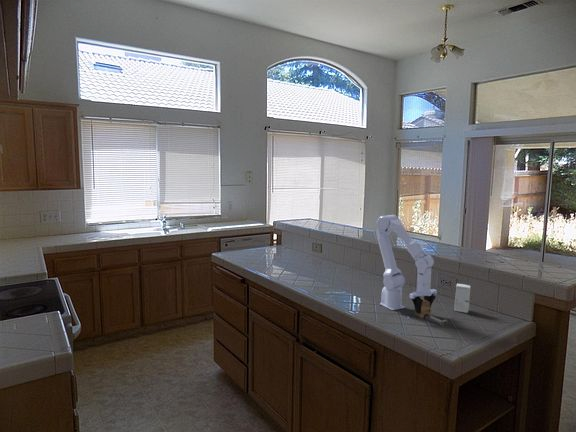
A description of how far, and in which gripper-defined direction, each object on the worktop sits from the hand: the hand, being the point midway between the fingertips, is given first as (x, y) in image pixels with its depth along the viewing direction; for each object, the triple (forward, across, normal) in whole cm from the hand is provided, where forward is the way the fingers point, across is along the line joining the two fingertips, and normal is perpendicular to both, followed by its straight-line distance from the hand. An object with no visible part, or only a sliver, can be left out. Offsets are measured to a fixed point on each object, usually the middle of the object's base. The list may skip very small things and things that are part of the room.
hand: (422, 311), depth 173 cm
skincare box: (+2, +21, -4) cm, 21 cm away
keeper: (+2, 0, 0) cm, 2 cm away
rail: (+2, 0, -4) cm, 5 cm away
